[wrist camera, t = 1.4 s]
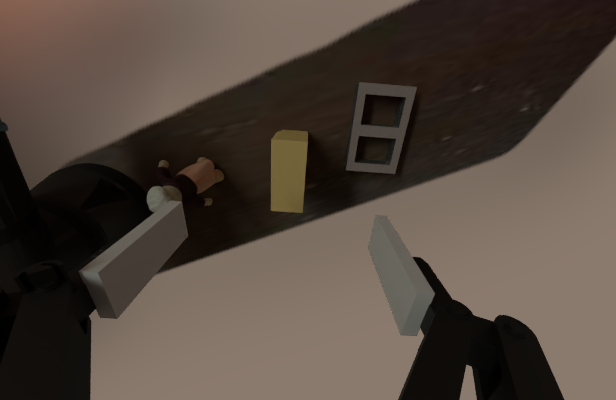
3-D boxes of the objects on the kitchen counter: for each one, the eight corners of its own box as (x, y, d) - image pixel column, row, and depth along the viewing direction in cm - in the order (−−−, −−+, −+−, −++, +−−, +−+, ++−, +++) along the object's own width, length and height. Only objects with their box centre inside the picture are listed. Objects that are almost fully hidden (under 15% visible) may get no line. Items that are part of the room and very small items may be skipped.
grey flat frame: (343, 165, 34) (345, 170, 32) (355, 83, 29) (359, 82, 27) (390, 169, 34) (395, 173, 32) (409, 87, 29) (416, 87, 27)
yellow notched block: (280, 180, 35) (270, 210, 26) (282, 125, 31) (271, 139, 22) (304, 181, 35) (302, 212, 26) (308, 127, 31) (307, 142, 22)
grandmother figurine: (235, 173, 34) (198, 214, 23) (222, 192, 36) (182, 239, 24) (188, 142, 32) (122, 169, 21) (177, 162, 34) (109, 199, 22)
